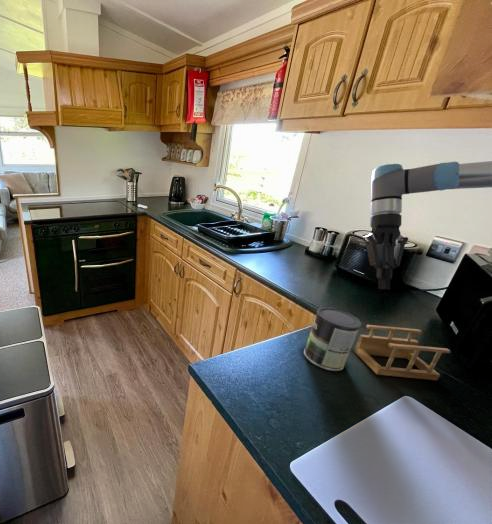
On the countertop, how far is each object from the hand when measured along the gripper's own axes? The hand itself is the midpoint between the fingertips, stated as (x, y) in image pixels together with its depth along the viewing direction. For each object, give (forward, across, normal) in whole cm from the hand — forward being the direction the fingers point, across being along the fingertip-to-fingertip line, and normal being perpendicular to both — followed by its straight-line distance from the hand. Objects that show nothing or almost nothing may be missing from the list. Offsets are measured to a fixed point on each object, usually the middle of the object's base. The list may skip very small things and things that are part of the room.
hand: (384, 289), depth 91 cm
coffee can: (+21, +23, +6) cm, 32 cm away
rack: (+22, +3, +7) cm, 23 cm away
